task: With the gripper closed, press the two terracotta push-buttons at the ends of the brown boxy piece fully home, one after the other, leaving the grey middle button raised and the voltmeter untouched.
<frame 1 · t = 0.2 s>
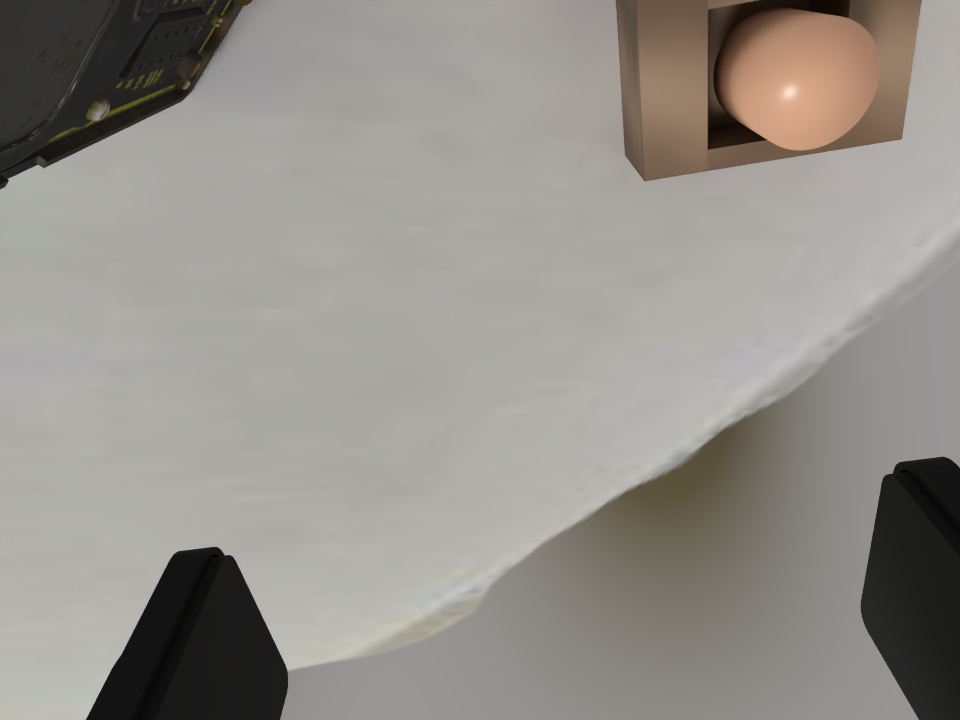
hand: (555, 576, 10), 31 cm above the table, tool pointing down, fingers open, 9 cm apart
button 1: (789, 76, 29), point 7 cm above the table, slide at 3.0 cm
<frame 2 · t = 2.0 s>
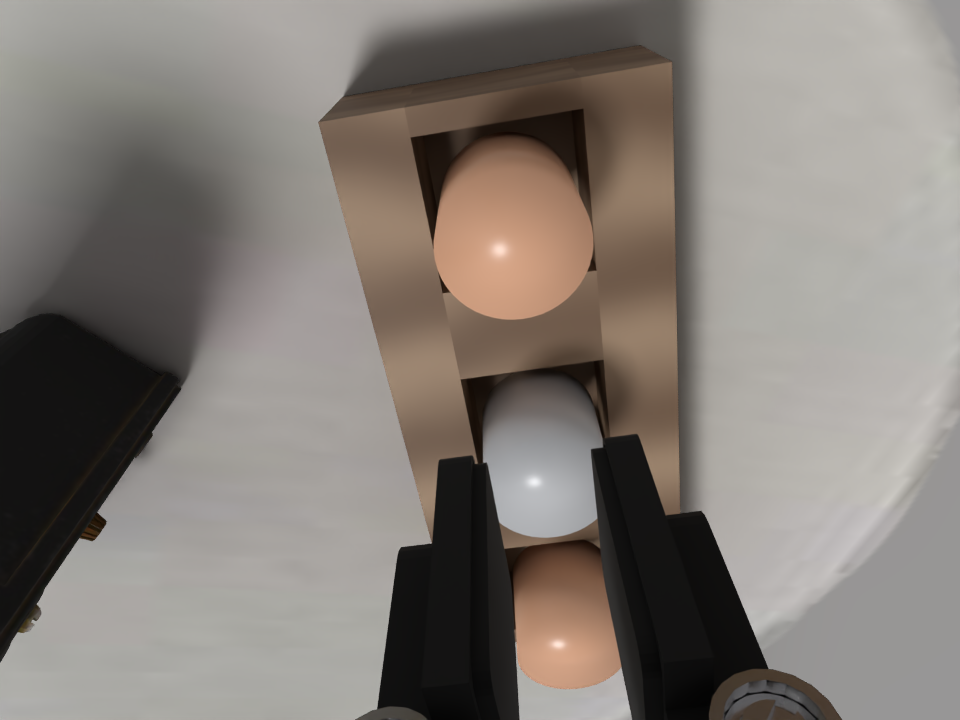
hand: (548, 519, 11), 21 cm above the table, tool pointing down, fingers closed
button 2: (510, 221, 24), point 7 cm above the table, slide at 3.0 cm
voltmeter: (63, 431, 36), on the table
brown boxy piece: (531, 368, 34), on the table
button middle: (542, 450, 29), point 7 cm above the table, slide at 3.0 cm
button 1: (565, 610, 34), point 7 cm above the table, slide at 3.0 cm
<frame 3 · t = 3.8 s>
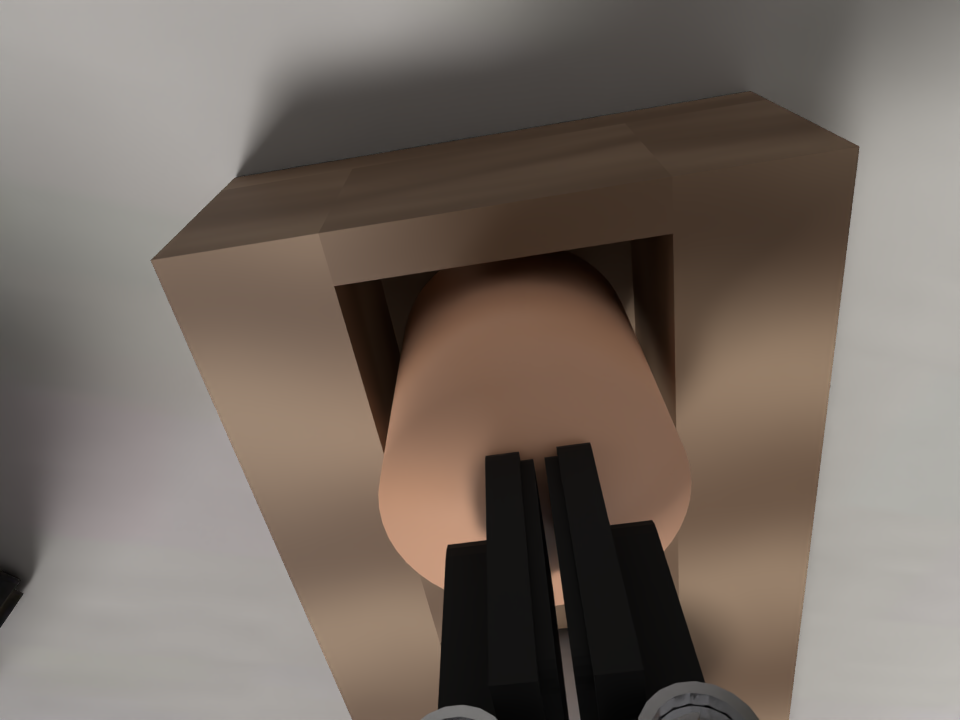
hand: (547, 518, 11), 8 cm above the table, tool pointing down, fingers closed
button 2: (523, 413, 13), point 5 cm above the table, slide at 1.8 cm, touching gripper
brown boxy piece: (550, 559, 23), on the table
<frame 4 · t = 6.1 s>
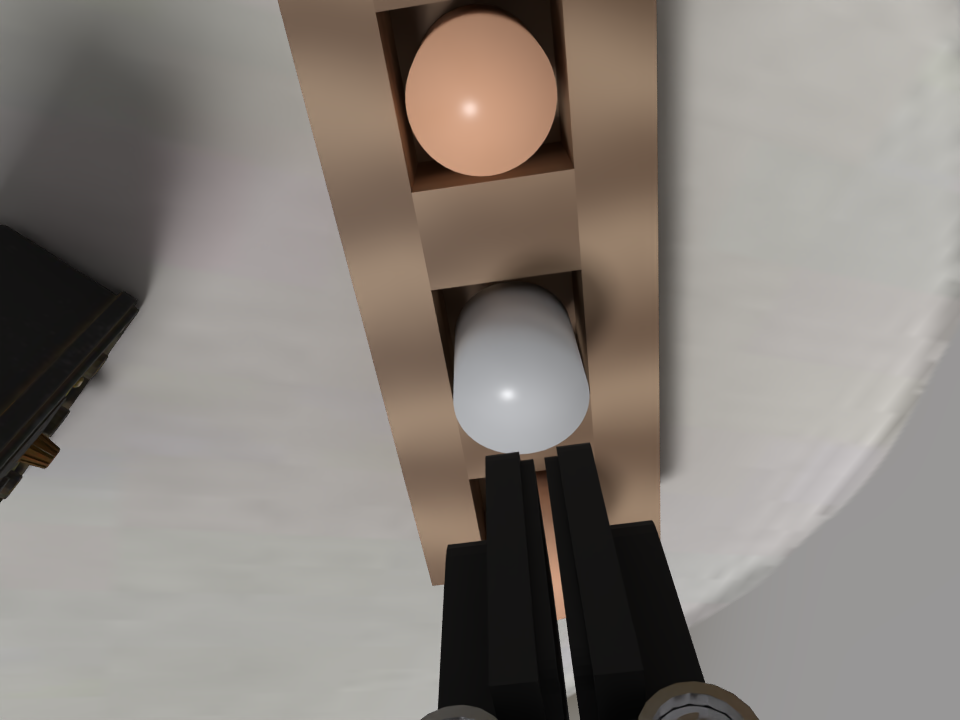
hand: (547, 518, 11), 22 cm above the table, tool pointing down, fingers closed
button 2: (479, 87, 25), point 3 cm above the table, slide at -0.1 cm, touching brown boxy piece
voltmeter: (15, 357, 35), on the table
brown boxy piece: (508, 292, 33), on the table
button middle: (516, 365, 27), point 7 cm above the table, slide at 3.0 cm
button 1: (540, 542, 33), point 7 cm above the table, slide at 3.0 cm
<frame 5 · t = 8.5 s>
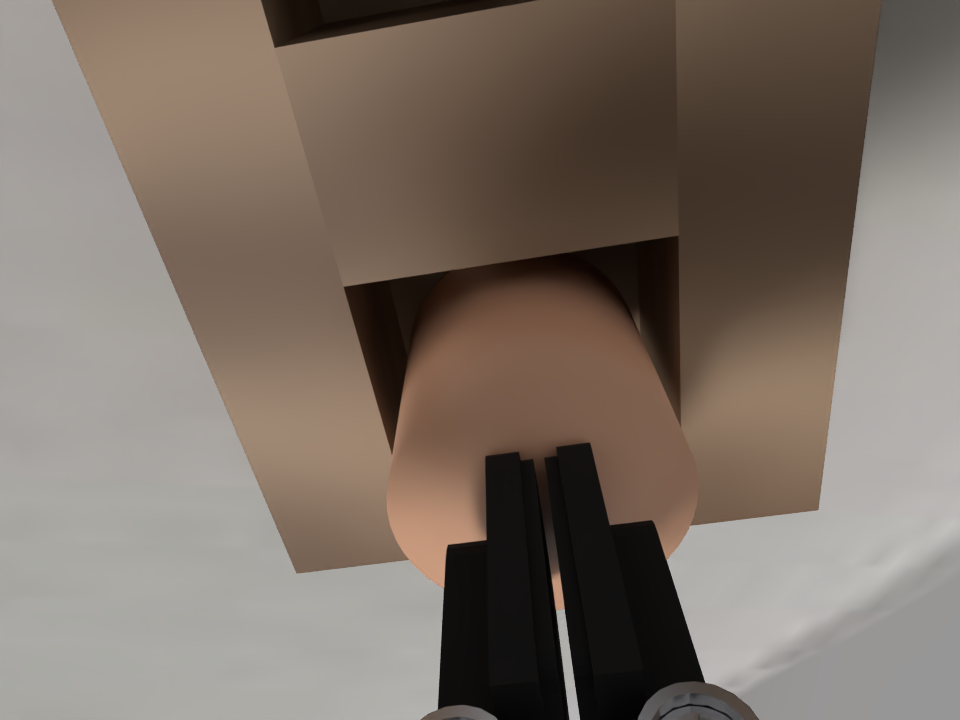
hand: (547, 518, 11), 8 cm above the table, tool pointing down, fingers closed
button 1: (530, 416, 13), point 6 cm above the table, slide at 2.0 cm, touching gripper
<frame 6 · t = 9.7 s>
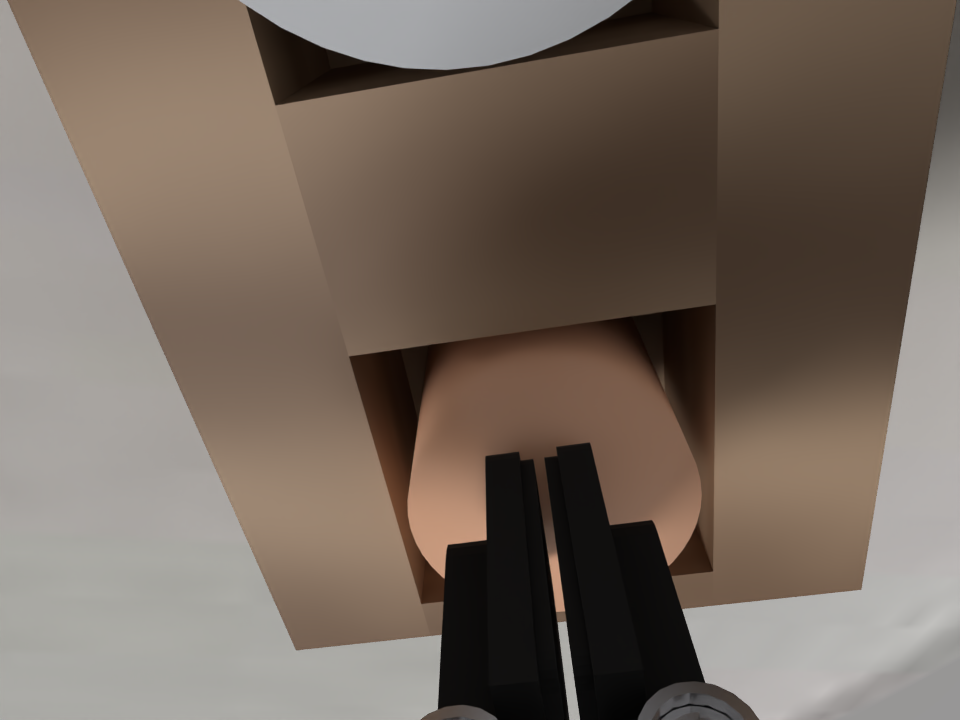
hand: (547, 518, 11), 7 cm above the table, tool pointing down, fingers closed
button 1: (542, 427, 14), point 3 cm above the table, slide at -0.1 cm, touching brown boxy piece
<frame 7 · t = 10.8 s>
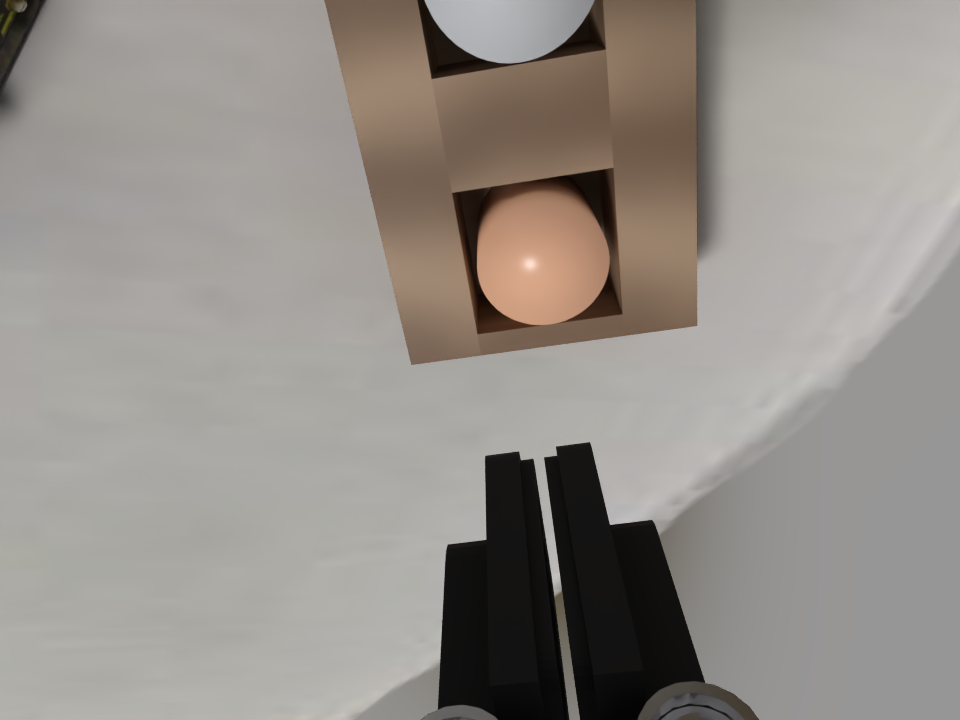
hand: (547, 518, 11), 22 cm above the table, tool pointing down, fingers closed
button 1: (538, 243, 28), point 3 cm above the table, slide at -0.1 cm, touching brown boxy piece
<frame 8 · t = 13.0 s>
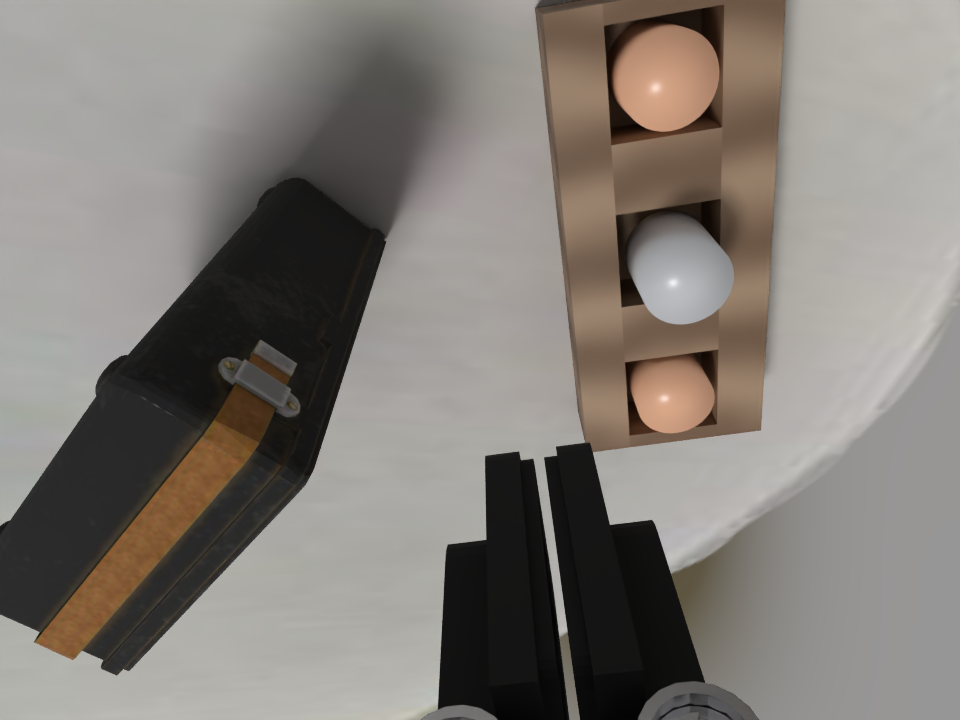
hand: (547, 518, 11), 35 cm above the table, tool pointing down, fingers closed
button 2: (658, 74, 37), point 3 cm above the table, slide at -0.1 cm, touching brown boxy piece
voltmeter: (285, 281, 47), on the table
brown boxy piece: (650, 227, 45), on the table
button middle: (675, 265, 40), point 7 cm above the table, slide at 3.0 cm
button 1: (666, 382, 47), point 3 cm above the table, slide at -0.1 cm, touching brown boxy piece
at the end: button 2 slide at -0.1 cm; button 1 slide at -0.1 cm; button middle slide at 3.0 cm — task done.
